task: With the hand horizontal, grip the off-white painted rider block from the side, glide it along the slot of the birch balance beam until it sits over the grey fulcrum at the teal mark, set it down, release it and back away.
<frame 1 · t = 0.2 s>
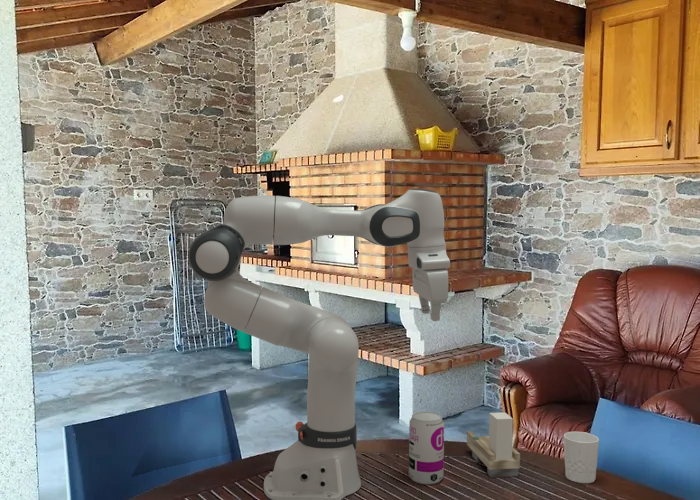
hand: (430, 316, 146), 39 cm above the table, tool pointing down, fingers open, 8 cm apart
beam: (491, 463, 158), on the table
white cup: (580, 478, 150), on the table
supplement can: (425, 479, 149), on the table
rider: (500, 456, 153), point 4 cm above the table, touching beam
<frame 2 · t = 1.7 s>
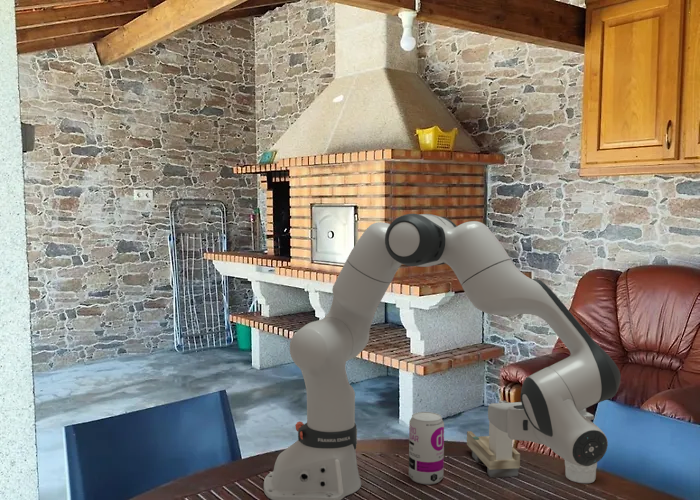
hand: (522, 403, 140), 21 cm above the table, tool horizontal, fingers open, 8 cm apart
nothing on the table moved.
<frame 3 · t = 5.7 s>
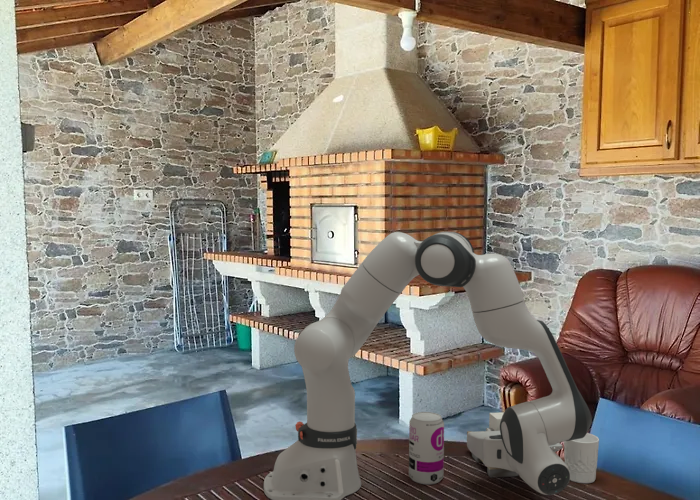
hand: (499, 430, 153), 10 cm above the table, tool horizontal, fingers closed on rider, 4 cm apart
rider: (500, 456, 153), point 4 cm above the table, touching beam, gripper
everything else where it was.
when the fingers open (10 cm above the table, at t = 9.8 s): rider stays where it is, resting on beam.
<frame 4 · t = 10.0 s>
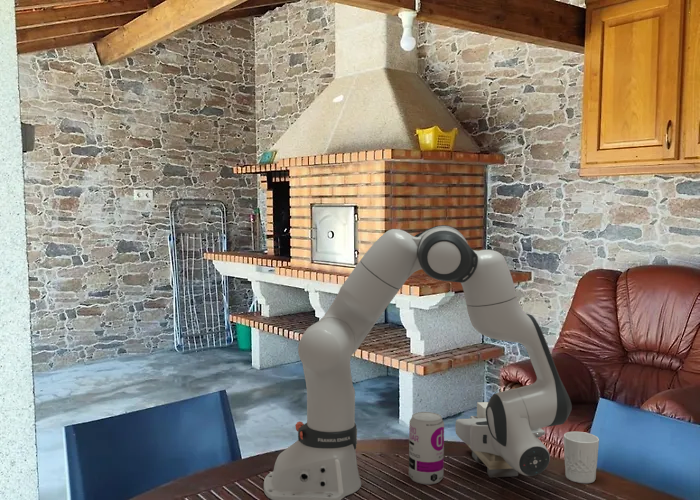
hand: (486, 418, 162), 10 cm above the table, tool horizontal, fingers open, 6 cm apart
rider: (487, 443, 162), point 4 cm above the table, touching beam
everything else where it was.
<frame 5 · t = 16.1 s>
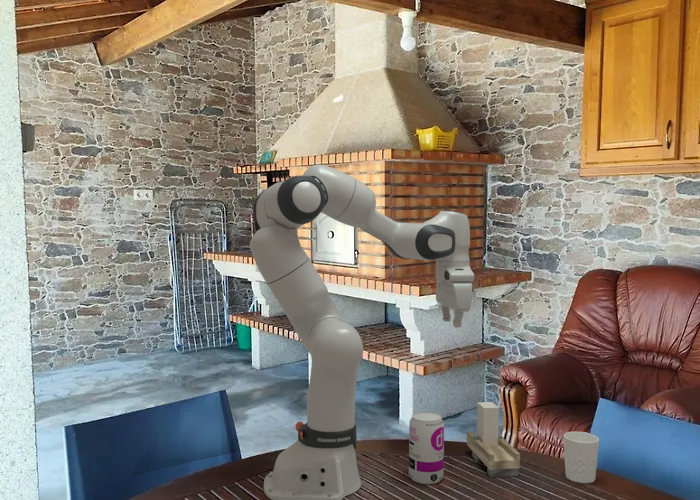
hand: (451, 324, 166), 34 cm above the table, tool pointing down, fingers open, 8 cm apart
nothing on the table moved.
at the end: rider 0.2 cm from the target spot, point 4.0 cm above the table; rider tilted 0°; the gripper is holding nothing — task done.
